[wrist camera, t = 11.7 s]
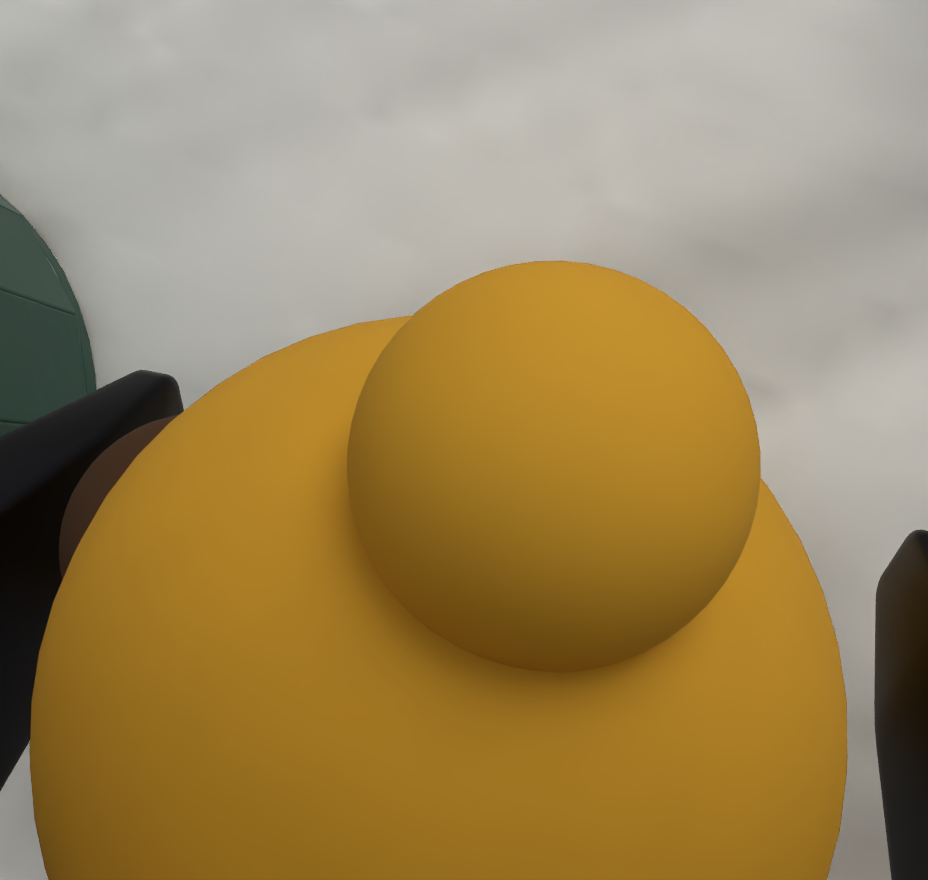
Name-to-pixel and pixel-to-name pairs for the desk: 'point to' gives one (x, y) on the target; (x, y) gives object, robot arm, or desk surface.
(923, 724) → the robot arm
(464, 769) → the toy
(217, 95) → the desk surface
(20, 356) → the pot
